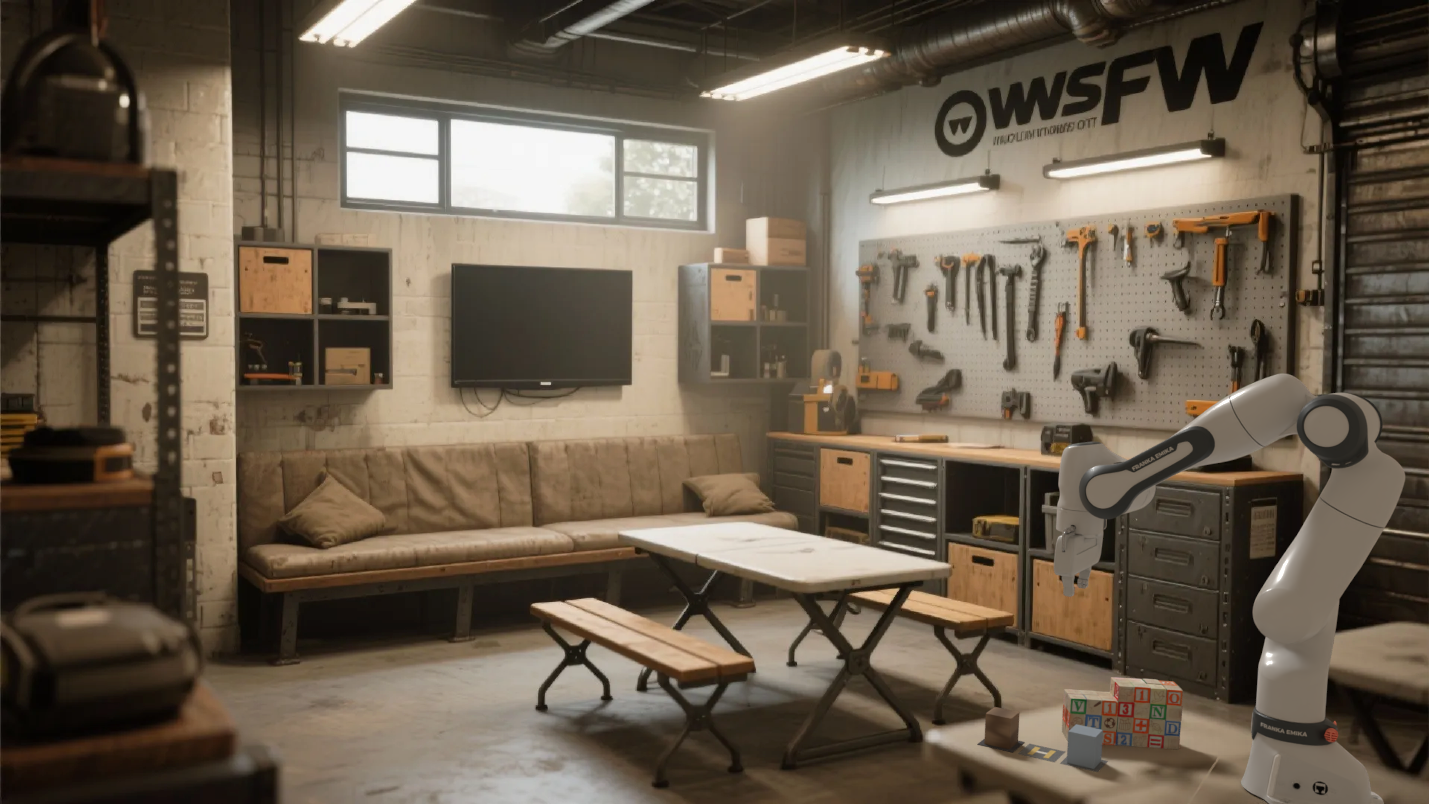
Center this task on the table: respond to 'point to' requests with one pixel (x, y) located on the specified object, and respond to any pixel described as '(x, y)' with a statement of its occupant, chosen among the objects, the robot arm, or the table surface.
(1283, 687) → the robot arm
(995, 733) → the walnut block
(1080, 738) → the slate-blue block
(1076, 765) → the code tile
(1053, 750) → the code tile
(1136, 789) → the table surface
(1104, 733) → the stack of blocks
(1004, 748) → the rubber mat
